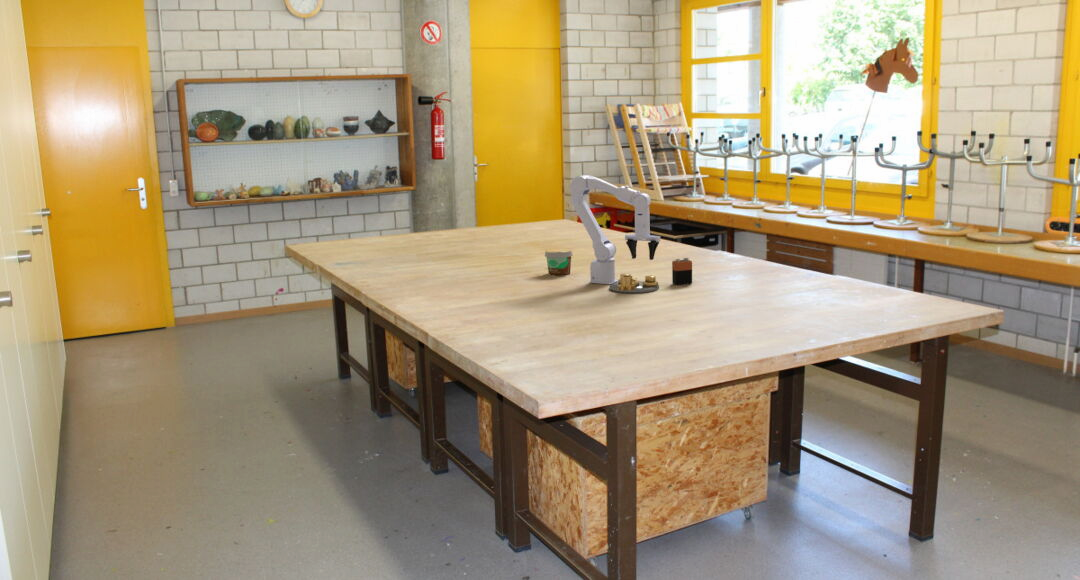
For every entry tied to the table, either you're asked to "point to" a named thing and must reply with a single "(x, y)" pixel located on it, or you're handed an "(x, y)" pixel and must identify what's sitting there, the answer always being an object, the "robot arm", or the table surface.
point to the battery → (682, 271)
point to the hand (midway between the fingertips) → (642, 259)
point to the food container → (559, 262)
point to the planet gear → (626, 283)
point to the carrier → (638, 285)
